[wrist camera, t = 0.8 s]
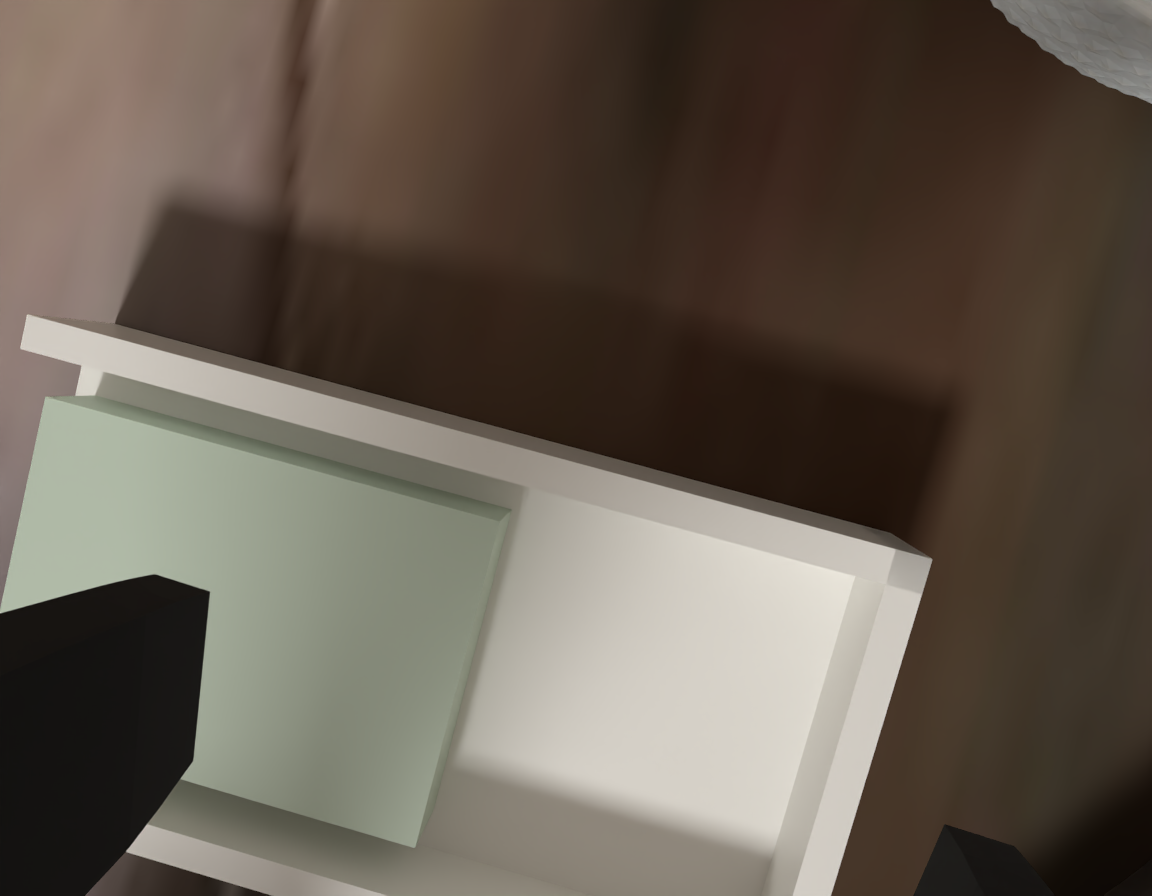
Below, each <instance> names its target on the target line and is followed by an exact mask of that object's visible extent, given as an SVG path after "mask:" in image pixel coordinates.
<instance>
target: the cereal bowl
mask: <svg viewBox="0 0 1152 896" xmlns="http://www.w3.org/2000/svg"><path fill="white" fill-rule="evenodd" d="M990 1H991V2H992V4H993V6H994V7H995V8H997V9H999V10H1000V11H1002V12H1003V13H1004V15H1005V17H1006V19H1007V21H1008V22H1009V23H1011V24H1013V25H1015V26H1017V27H1019V28H1020V30H1021V31H1022V32H1023V33H1025V34H1026V35H1027V36H1029V37H1030V38H1032V39H1034V40H1035V41H1036V42H1037V43H1038V45H1039V46H1040V47H1041V49H1043V50H1045V51H1047V52H1050V53H1052V54H1054V55H1055V56H1056V57H1057V58H1058V59H1060V60H1061V61H1062V62H1063V63H1064V64H1066V65H1069V66H1072V67H1074V68H1075V69H1077V70H1078V71H1079V72H1080V73H1081V74H1082V75H1085V76H1088V77H1091V78H1094V79H1096V80H1097V81H1098V82H1099V83H1102V84H1104V85H1106V86H1107V87H1110V88H1115V89H1117V90H1119V91H1121V92H1122V93H1124V94H1127V95H1132V96H1136V97H1138V98H1140V99H1142V100H1145V101H1147V102H1149V103H1151V104H1152V0H990Z"/></svg>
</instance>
